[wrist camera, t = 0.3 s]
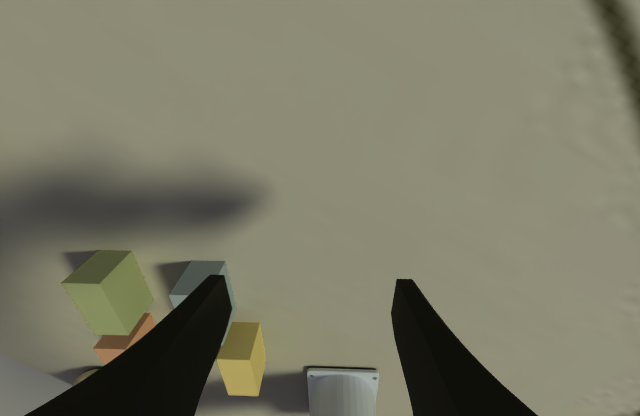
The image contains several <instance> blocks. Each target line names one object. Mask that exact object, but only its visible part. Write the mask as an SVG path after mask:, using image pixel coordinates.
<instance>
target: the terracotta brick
mask: <svg viewBox="0 0 640 416" xmlns="http://www.w3.org/2000/svg"><path fill="white" fill-rule="evenodd" d="M155 326H156V324H155V322H154V320H153V318H152V316H151V314H150V313H144V314H143V316H142V317H141V318H140V320H139V321H138V323H137V324H136V325H135V327H134V328H133V330H132V331H131V332H130V334H129V335H103V337H102V338H101V339H100V340H99V342H98V343H97V344H96V346H95V347H94V348H93V349H94V351H95V352H96V354H97V355H98V356H99V358H100V359H101V361H102V362H103V364H104V365H106V364H107V363H109V362H110V361H112V360H113V359H114V358H116V357H117V356H119V355H120V354H121V353H123V352H124V351H125V350H126V349H128V348H129V347H130V346H132V345H133V344H134V343H136V342H137V341H138V340H139V339H141V338H142V337H143V336H144V335H145V334H147V333H148V332H149V331H150V330H151V329H152V328H154V327H155Z"/></svg>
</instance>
